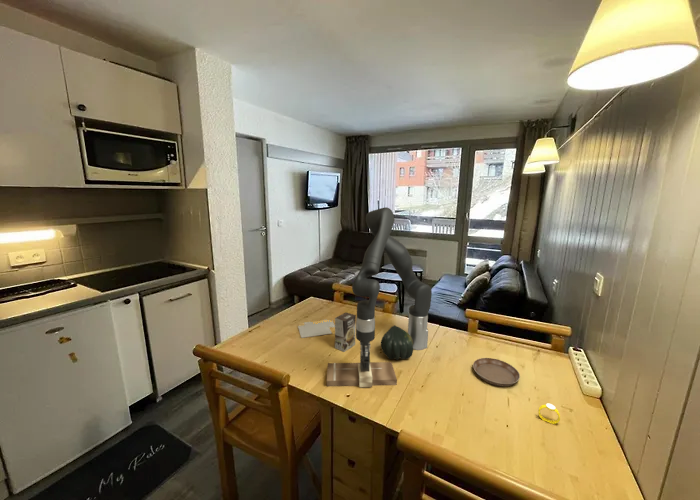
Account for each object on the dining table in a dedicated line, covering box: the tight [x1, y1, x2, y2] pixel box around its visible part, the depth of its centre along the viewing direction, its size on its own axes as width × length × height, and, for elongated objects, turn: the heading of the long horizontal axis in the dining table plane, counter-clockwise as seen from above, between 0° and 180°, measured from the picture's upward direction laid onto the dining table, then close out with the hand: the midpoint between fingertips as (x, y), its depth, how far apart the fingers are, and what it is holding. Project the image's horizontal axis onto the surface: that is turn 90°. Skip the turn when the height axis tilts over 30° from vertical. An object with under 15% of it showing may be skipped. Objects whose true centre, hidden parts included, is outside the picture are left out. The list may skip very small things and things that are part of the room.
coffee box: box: [334, 312, 357, 353], centre depth 143 cm, size 9×6×16 cm
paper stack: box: [297, 320, 335, 339], centre depth 167 cm, size 23×25×1 cm
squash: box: [380, 325, 414, 361], centre depth 136 cm, size 14×15×15 cm
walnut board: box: [326, 361, 398, 387], centre depth 121 cm, size 28×12×3 cm, turn 92°
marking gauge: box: [357, 350, 373, 388], centre depth 117 cm, size 5×10×11 cm, turn 2°
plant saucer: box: [472, 357, 521, 387], centre depth 122 cm, size 18×18×3 cm
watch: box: [537, 403, 561, 425], centre depth 98 cm, size 6×3×6 cm, turn 56°
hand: (364, 365), depth 118 cm, fingers closed on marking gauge, 3 cm apart
